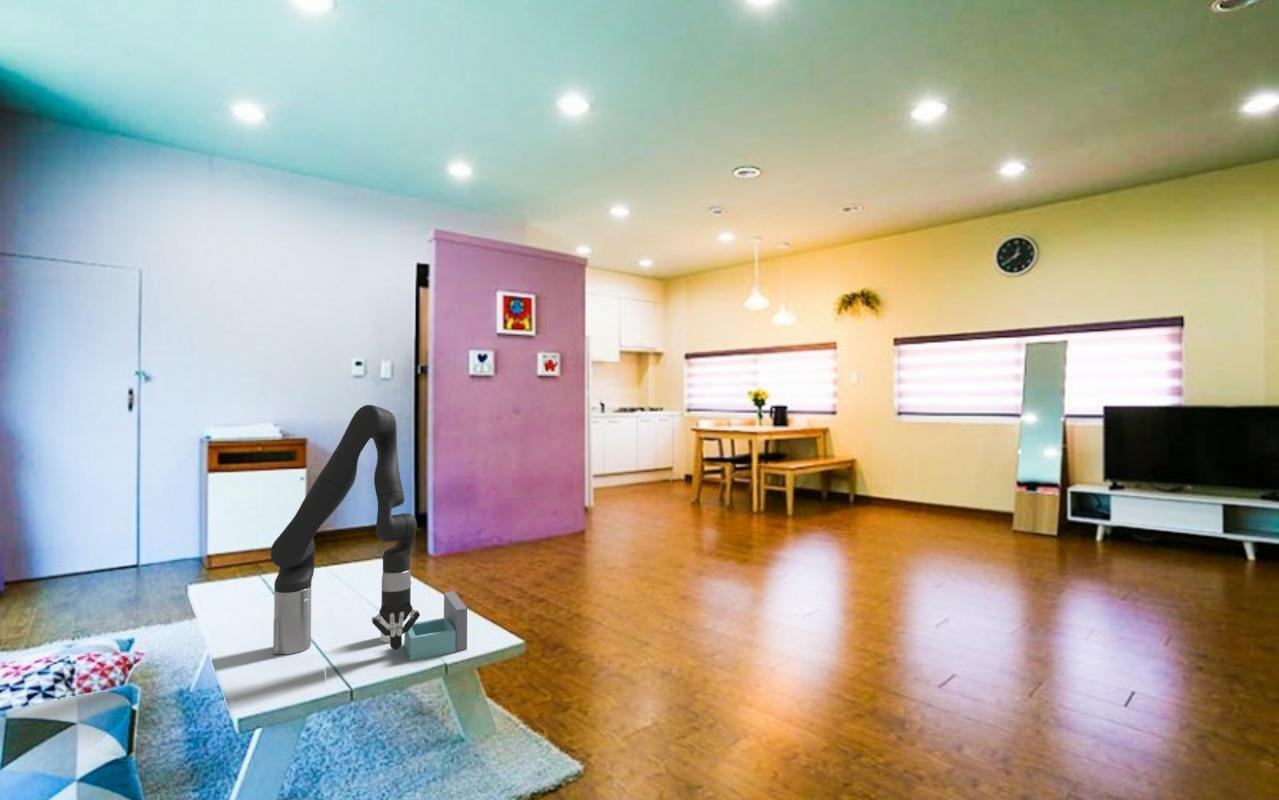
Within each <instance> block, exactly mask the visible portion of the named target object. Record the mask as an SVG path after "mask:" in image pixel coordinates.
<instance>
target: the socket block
mask: <svg viewBox="0 0 1279 800" xmlns="http://www.w3.org/2000/svg"><path fill="white" fill-rule="evenodd" d="M403 639H404V640H403V641H404V642H403V644H404V645H403V646H404V647H405V650H406V653H407V656H408V659H409V660H410V661H411V662H412V661H414V660H415V661H416V660H422V659H426V658H432V657H437V656H443V655H448V654H449V655H450V654H453V653H456V631H455V629H454V627H453V626H452V624H451V623H450V621H449V620H448V618H444V617H442V618H435V619H430V620H423V621H416V622H415V623H414V624H413V626H412V627H411V628H410V630H409V631H408V632H405V633H404V638H403Z"/></svg>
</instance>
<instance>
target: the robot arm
mask: <svg viewBox="0 0 1279 800" xmlns="http://www.w3.org/2000/svg"><path fill="white" fill-rule="evenodd" d="M396 420H397V419H396V417H395V415H394V414H393V413H392V412H391V411H389V410H388V409H386V408H383V407H379V406H376V405H373V404H365V405H362V406H361V407H359V409H358V410H356V411H355V413H354V415H353V416H352V418H351V420H350V421H349V424H348V426H347V427H346V429H345V431H344V433H343V436H342V438H341V439H340V441H339V443H338V445H337V446H336V448H335V449H334V450H333V453H332V455H331V456H330V458H329V460H328V461H327V462H326V464H325V466H324V467H323V469H321V471H320V473H319V474H318V475H317V478H316V479H315V481H314V482H313V483H312V485H311V488H309V491H308V492H307V493H306V495H305V497H304V499H303V501H302V502H301V505H300V506H299V508H298V510H297V511H296V514H294V516H293V518H292V519H291V521H290V522H289V523H288V524H287V526H286V527H285V528H284V529H283V531H282V532H281V533H280V534H279V536H278V537H277V538H276V539H275V540H274V542H273V544H272V545H271V548H270V558H271V561H272V563H273V564H274V565H275V566H276V567H278V568H279V570H278V573H277V577H276V578H275V579H274V580H275V581H274V585H273V586H274V592H273V593H274V595H273V596H274V598H273V599H274V600H273V601H274V602H273V603H274V607H273V610H274V612H273V613H274V614H273V644H272V645H273V653H272V654H275V655H291V654H298V653H301V652H303V651H306V650H308V649H309V648H310V647H311V646H312V580H313V577H314V571H315V558H316V546H315V545H316V544H315V540H314V538H315V535H316V533H317V532H318V530H319V529H320V528H321V526H322V525H323V523H325V522H326V521H327V519H328V518H329V517H330V516H331V515H332V514H333V513H334V512H335V511H336V510H337V508H338V507H340V504H341V503H342V502H343V500H345V498H346V496H347V495H348V493H349V492H350V491H351V489H352V487H353V485H354V483H355V481H356V477H357V473H358V472H357V471H358V462H359V458H360V456H361V453H362V451H363V450H364V448H365V447H366V445H367V444H368V442H369V441H370V439H372V440H373V442H374V445H375V448H376V453H377V456H376V457H377V460H376V466H375V469H374V475H373V477H374V478H373V483H374V489H375V494H376V500H377V501H376V502H377V513H376V514H377V515H376V516H377V517H376V521H375V522H376V524H375V533H376V536H377V538H378V539H379V540H381V541H382V542H384V543H388V542H394V541H397V542H396V544H395V545H394V546H392V547H390V548H387V549H386V550H385V551H384V552H383V555H382V576H381V605H380V609H379V613H378V614H377V615H376V616H373V617H372V618H371V622H372V624H373V625H374V626H375V627H376V629H378V630H379V631H380V633H381V632H382V633H383V634H384V635H385V636H390V642H389V645H390V649H392V650H393V651H395V650H396V651H397V650H399V649H400V647H402V645H403V644H402V643H403V642H402V640H403V639H402V634H403V633H404V634H405V632H408V631H409V630H410V628H411V627H412V626H413V624H414V623H416V622H417V621H418V619H419V618H420V616H421V615H420V614H421V613H420V612H419V610H415V609H414V608H413V606H412V604H411V585H412V581H411V580H412V579H411V578H412V577H411V569H410V568H411V552H412V548H413V544H414V540H415V538H416V535H417V534H416V533H417V529H418V524H417V519H416V517H415V516H414V514H411V513H408V512H405V513H399V514H392V509H395V508H397V507H399V506H401V505H403V504H404V503H405V495H404V489H403V486H402V485H403V484H402V480H401V475H400V469H399V467H400V466H399V457H398V455H399V454H398V439H397V438H398V435H397V432H398V431H397V430H398V429H397V421H396ZM381 617H382V618H383V619H384V620H385V621H386V622H387V623H388V624H389V629H390V630H388V629H386V628H385V626H384V625H383V624H382V623H381V622H382V620H381ZM408 617H409V619H408ZM406 620H407V621H406ZM405 621H406V623H405ZM403 622H404V627H403ZM395 623H397V628H396V635H395Z"/></svg>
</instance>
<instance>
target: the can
mask: <svg viewBox="0 0 1279 800" xmlns="http://www.w3.org/2000/svg"><path fill="white" fill-rule="evenodd" d="M381 620H382V622H381V623H382V624H383V625H384V626H385V628H386V629H388V630H390V629H389V624H388V623H387V622H386V621H385V620H384V619H383V618H382V617H381ZM404 625H405V621H404V622H403V627H404ZM396 628H397V623H395V635H396ZM404 637H405V633H403V634H402V640H403V639H404ZM380 641H381V642H383V643H390V636H385V635H384V634H383V633H382V632H381V631H380Z"/></svg>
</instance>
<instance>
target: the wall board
mask: <svg viewBox="0 0 1279 800" xmlns="http://www.w3.org/2000/svg"><path fill="white" fill-rule="evenodd" d="M443 618H448V620H449V621H450V623H451V624H452V626H453V627H454V629H455V631H456V652H461V651H462V652H463V651H467V650H468V607H467V606H466V604H465V603H464V602H463V600H461V598H460V596H458V594H457V593H456V592H455V590H451V591H444V593H443ZM456 652H455V653H456Z"/></svg>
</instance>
